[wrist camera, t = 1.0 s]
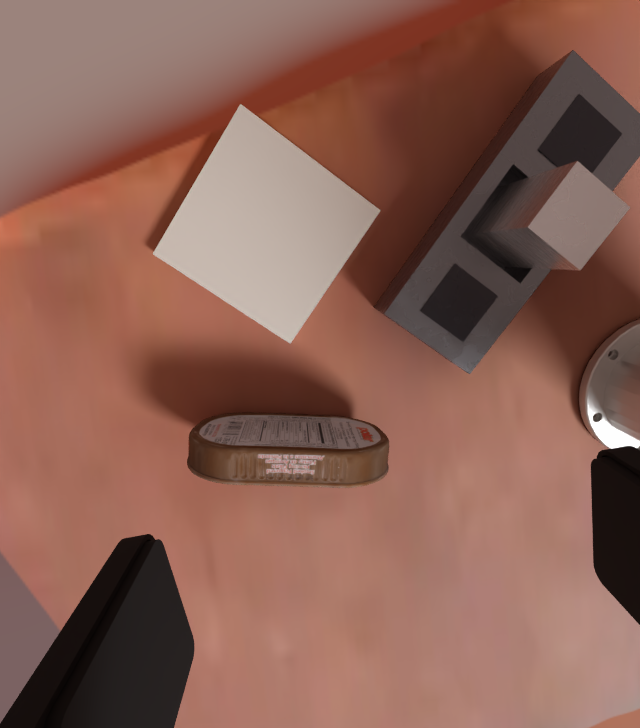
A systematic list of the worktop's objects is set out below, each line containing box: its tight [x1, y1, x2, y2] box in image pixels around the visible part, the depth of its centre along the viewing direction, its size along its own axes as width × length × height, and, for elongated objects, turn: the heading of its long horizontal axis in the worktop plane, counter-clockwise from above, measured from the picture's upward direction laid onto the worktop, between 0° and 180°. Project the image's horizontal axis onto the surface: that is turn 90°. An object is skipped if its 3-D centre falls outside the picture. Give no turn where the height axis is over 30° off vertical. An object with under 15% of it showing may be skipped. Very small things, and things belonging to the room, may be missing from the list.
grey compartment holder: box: [374, 50, 640, 374], centre depth 31 cm, size 8×20×4 cm, turn 145°
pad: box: [153, 104, 381, 343], centre depth 31 cm, size 12×12×1 cm
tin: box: [187, 413, 389, 488], centre depth 32 cm, size 15×3×8 cm, turn 86°
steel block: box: [461, 161, 630, 270], centre depth 27 cm, size 4×4×10 cm
